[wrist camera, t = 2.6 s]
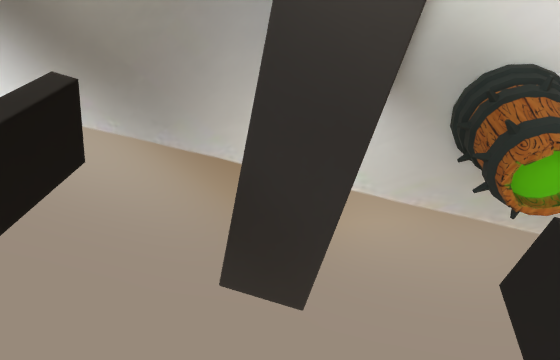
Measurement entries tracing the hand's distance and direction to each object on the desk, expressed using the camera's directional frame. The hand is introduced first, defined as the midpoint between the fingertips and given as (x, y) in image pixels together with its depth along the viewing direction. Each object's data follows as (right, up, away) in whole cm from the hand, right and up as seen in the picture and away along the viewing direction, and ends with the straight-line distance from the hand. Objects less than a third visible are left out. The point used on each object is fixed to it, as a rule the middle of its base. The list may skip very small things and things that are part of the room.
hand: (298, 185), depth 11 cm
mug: (+21, +6, +25) cm, 33 cm away
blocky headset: (+3, +9, +13) cm, 16 cm away
